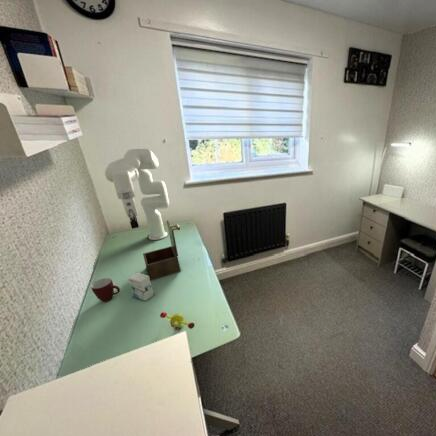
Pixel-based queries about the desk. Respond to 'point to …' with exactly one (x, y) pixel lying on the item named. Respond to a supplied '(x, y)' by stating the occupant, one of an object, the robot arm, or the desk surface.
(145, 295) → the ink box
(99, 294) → the mug
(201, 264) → the desk surface
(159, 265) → the chest
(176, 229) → the lid
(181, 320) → the spiky dumbbell toy
